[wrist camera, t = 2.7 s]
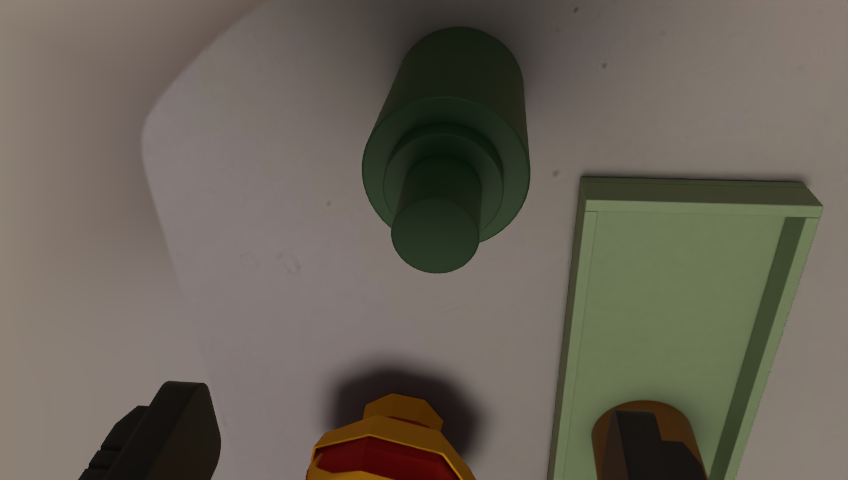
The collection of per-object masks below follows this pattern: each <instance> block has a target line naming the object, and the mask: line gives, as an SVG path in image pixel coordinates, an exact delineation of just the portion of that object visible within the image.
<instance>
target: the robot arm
mask: <svg viewBox="0 0 848 480" xmlns="http://www.w3.org/2000/svg"><path fill="white" fill-rule="evenodd" d="M220 450H221V437H220V432H219V428H218V424H217V420H216V416H215V412H214V408H213V404H212V400H211V396H210V392H209V389H208V386H207V385H206V384H205V383H195V382H178V381H167V382H165V383H164V384H163V385H162V386H161V388H160V390H159V391H158V393H157V394H156V396H155V397H154V399H153V400H152V402H151V404H150V405H149V406H137V407H136V408H134V409H133V410H132V411H131V412H130V413H129V414H127V415H126V416H125V417H123V418H122V419H121V420H120V421H119V422H117V423H116V424H115V425H114V427H113V428H112V430H111V431H110V433H109V434H108V436H107V437H106V439H105V441H104V442H103V443H102V445H101V450H100V451H99V450H98V451H97V452H96V454H95V455H94V457H93V458H92V460H91V462H90V463H89V467H88V469H85V471H84V472H83V473H82V475H81V476H80V478H79V479H78V480H211V477H212V475H213V473H214V471H215V468H216V466H217V464H218V460H219V456H220ZM602 480H706V477H705V474H704V471H703V467H702V465H701V463H700V462H699V461H698V460H697V458H696V457H695V456H694V455H693V453H692V452H691V451H690V450H689V448H688V447H687V446H686V445H685V444H684V442H679V441H664V440H662V438H661V435H660V431H659V427H658V423H657V419H656V416H655V414H654V412H653V411H641V410H625V409H612V411H611V415H610V420H609V426H608V432H607V438H606V444H605V450H604V456H603V462H602Z"/></svg>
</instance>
